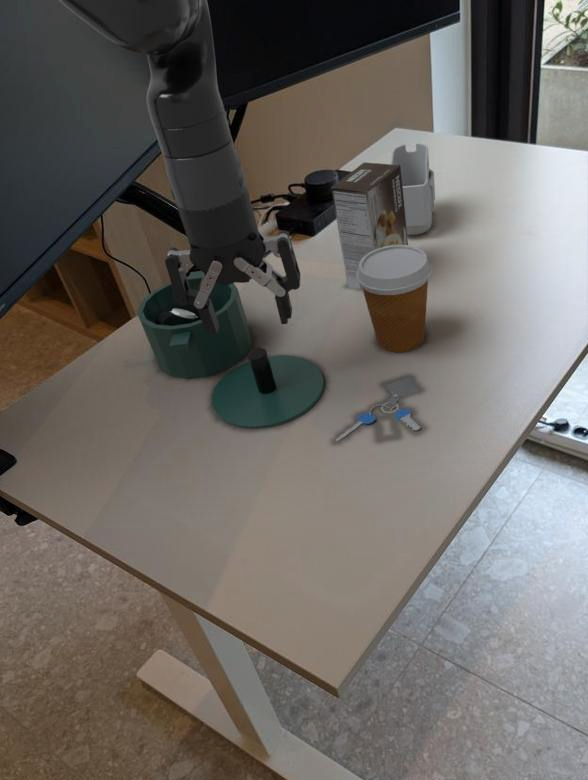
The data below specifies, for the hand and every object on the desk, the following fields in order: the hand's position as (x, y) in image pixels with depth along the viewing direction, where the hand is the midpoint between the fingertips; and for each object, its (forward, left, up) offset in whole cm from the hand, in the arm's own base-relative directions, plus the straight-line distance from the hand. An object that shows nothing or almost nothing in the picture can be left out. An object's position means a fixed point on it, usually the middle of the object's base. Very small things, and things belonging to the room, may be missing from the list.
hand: (250, 325), depth 81 cm
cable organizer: (+23, +41, -11) cm, 48 cm away
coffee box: (+16, +26, -11) cm, 32 cm away
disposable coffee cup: (+18, +8, -11) cm, 22 cm away
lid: (0, 0, -10) cm, 10 cm away
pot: (-10, +12, -11) cm, 19 cm away
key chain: (+16, -8, -11) cm, 21 cm away
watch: (-12, +13, -7) cm, 19 cm away
